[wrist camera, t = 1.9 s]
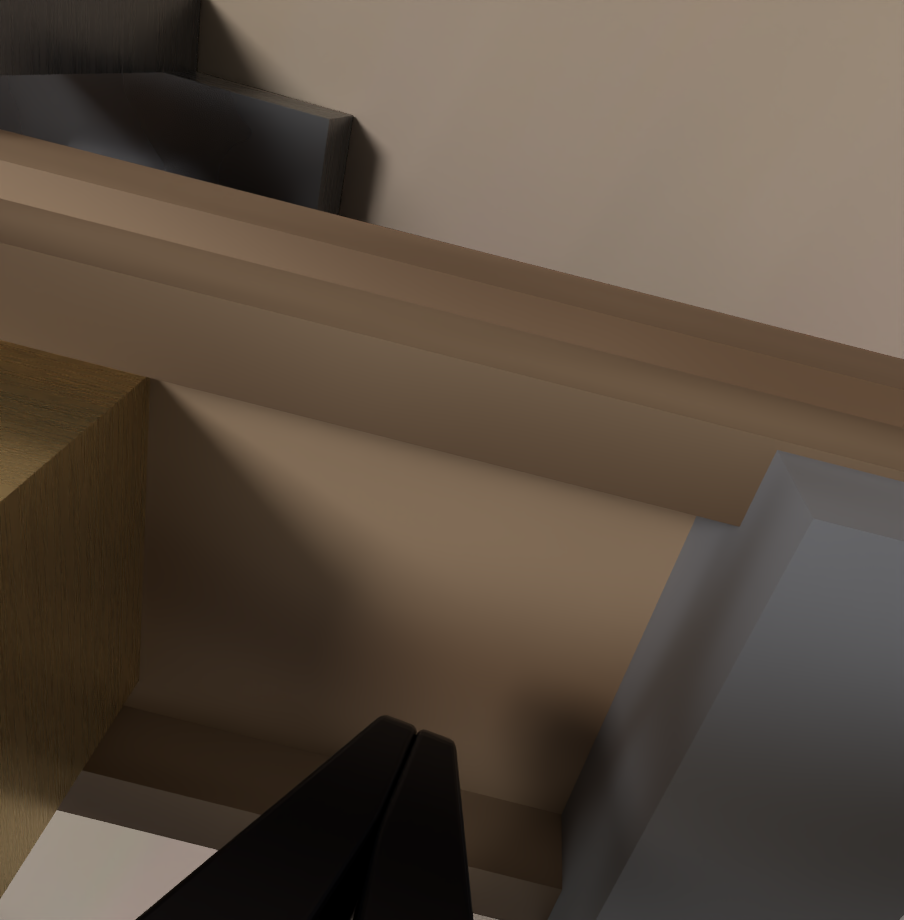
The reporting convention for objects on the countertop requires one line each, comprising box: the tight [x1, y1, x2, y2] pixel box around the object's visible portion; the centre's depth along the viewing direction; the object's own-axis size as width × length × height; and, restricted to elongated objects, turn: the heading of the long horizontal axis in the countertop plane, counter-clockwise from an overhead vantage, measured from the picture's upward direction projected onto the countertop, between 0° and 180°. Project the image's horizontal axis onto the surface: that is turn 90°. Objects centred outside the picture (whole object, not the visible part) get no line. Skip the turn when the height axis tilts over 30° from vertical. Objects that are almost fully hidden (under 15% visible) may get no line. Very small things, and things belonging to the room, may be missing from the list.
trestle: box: [0, 0, 353, 215], centre depth 13 cm, size 12×8×6 cm, turn 168°
